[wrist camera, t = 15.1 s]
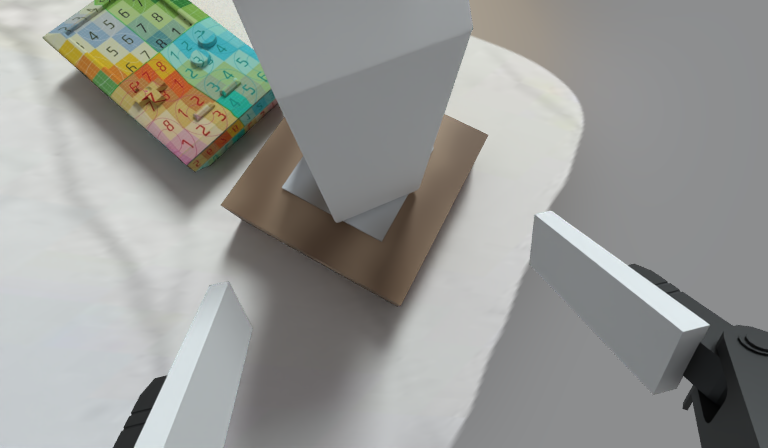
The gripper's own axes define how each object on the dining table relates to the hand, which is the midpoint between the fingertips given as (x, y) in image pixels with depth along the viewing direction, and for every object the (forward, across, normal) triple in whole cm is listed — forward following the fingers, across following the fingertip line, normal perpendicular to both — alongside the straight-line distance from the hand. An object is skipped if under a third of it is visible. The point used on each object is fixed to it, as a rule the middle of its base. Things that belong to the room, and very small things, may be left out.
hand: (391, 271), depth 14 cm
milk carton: (+14, 0, 0) cm, 14 cm away
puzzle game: (+28, -15, +7) cm, 33 cm away
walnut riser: (+17, 0, -3) cm, 17 cm away
